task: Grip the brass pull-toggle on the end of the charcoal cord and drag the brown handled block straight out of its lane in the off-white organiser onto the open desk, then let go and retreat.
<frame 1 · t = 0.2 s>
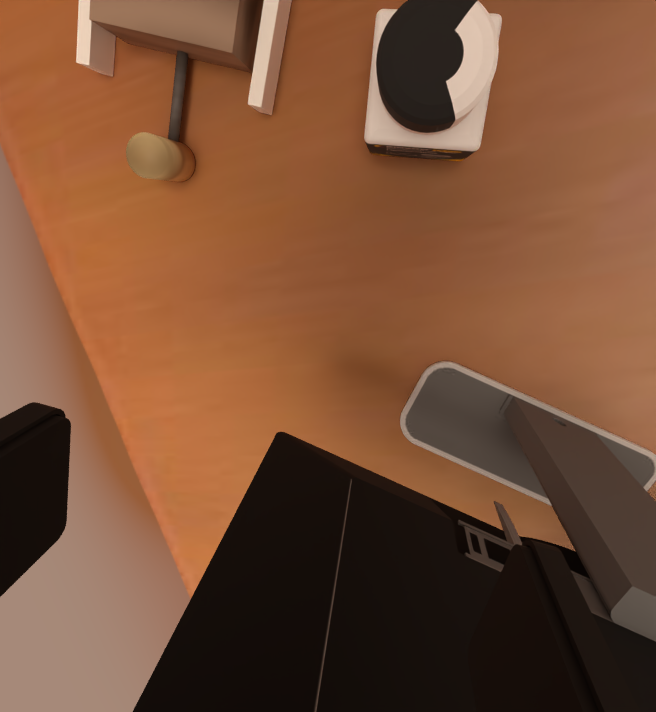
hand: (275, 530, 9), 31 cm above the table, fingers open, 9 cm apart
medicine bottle: (422, 106, 34), on the table
computer monitor: (527, 445, 41), on the table
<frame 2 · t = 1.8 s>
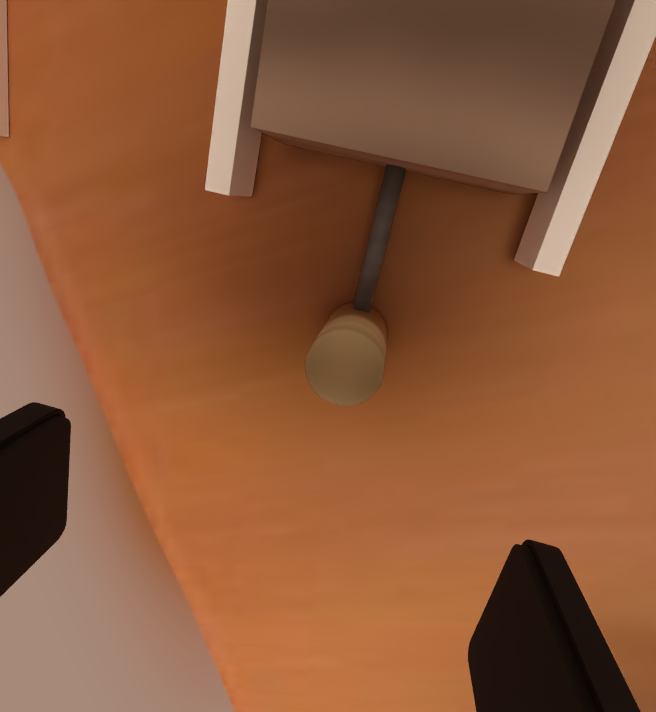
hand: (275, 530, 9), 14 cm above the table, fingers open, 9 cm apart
lane organiser: (422, 62, 18), on the table
brown handled block: (425, 49, 18), on the table
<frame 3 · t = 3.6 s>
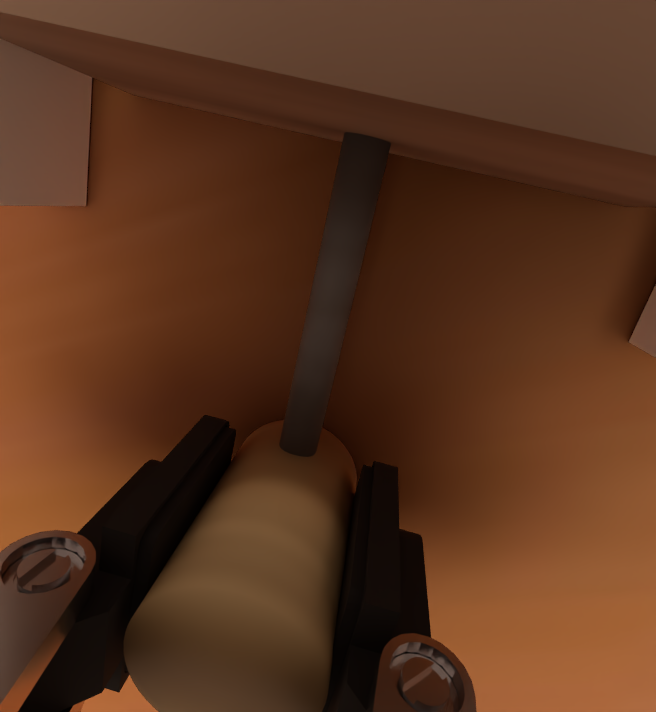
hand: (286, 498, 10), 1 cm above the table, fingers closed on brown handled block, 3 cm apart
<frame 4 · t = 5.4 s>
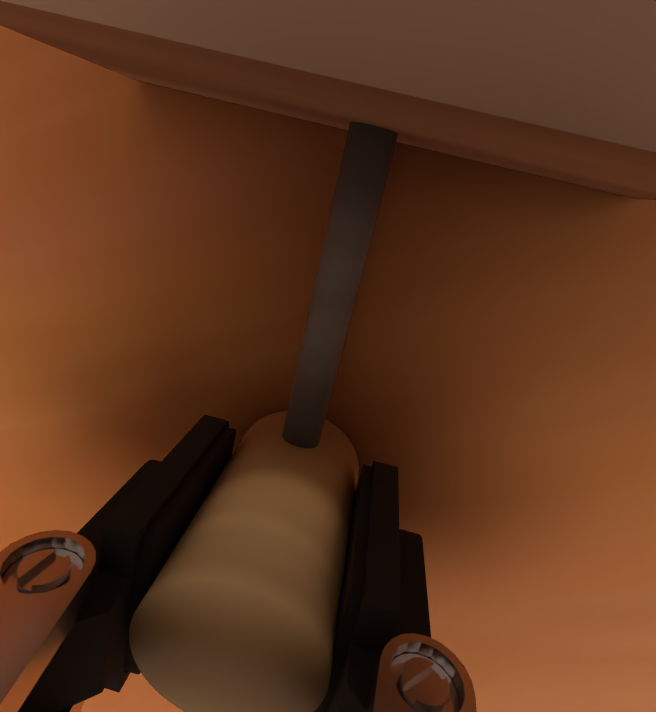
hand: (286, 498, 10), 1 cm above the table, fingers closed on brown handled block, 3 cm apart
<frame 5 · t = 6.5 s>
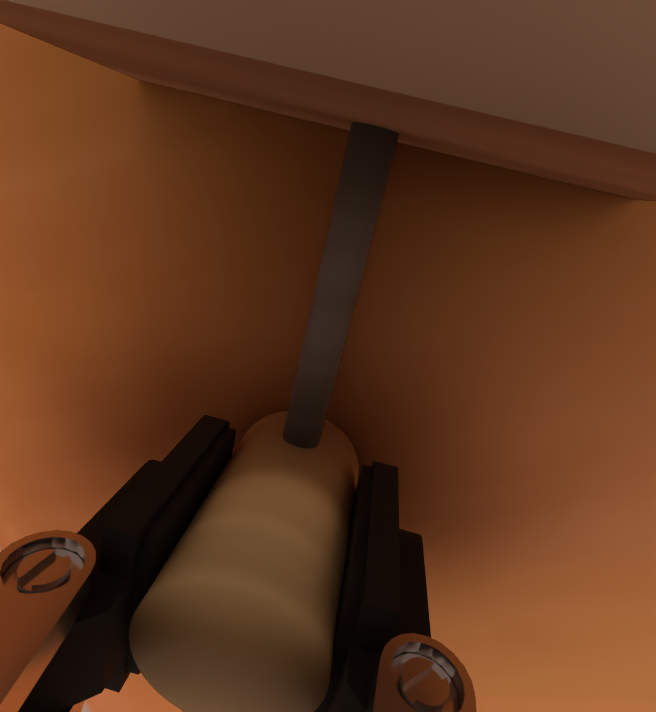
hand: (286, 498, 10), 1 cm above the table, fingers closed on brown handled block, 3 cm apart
when the fingers open (1 cm above the table, at t = 7.4 s): brown handled block stays where it is, on the table.
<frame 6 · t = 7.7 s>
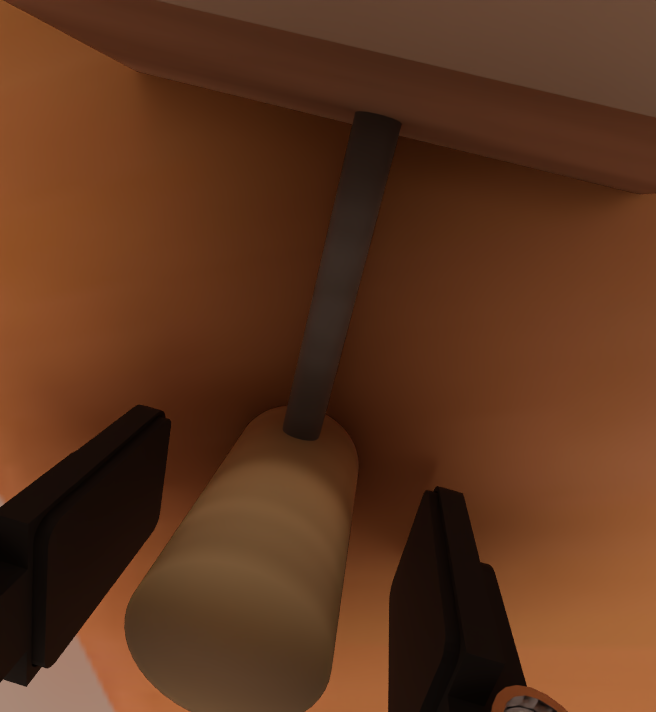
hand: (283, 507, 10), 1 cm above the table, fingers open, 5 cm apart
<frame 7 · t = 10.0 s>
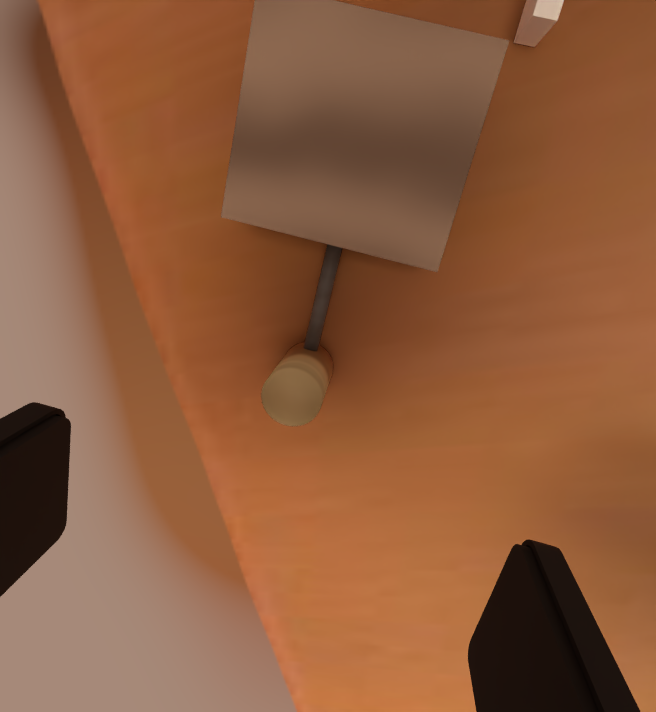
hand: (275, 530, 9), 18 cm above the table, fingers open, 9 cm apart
brown handled block: (359, 152, 24), on the table
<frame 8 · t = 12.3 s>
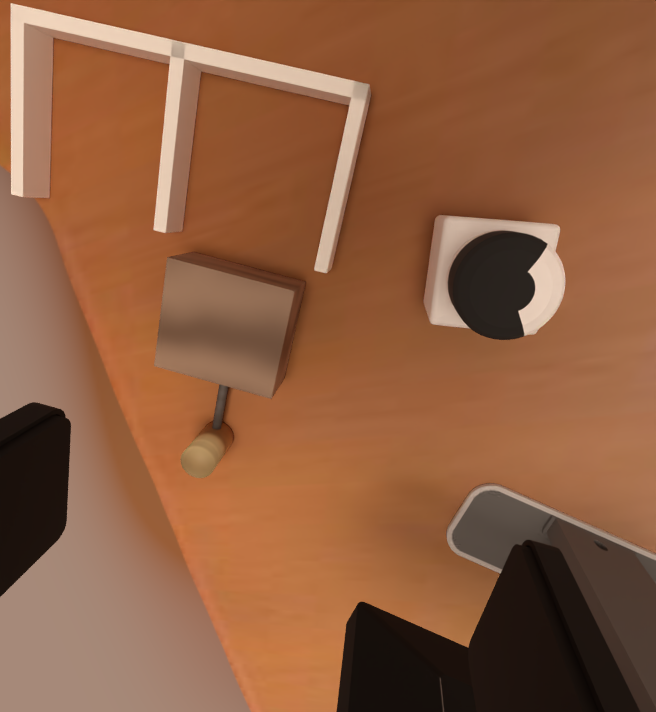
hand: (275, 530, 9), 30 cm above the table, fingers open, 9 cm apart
lane organiser: (264, 166, 36), on the table
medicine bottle: (473, 264, 36), on the table
brown handled block: (241, 316, 40), on the table
computer monitor: (568, 558, 43), on the table
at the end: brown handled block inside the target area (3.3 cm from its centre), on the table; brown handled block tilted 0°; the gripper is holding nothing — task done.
